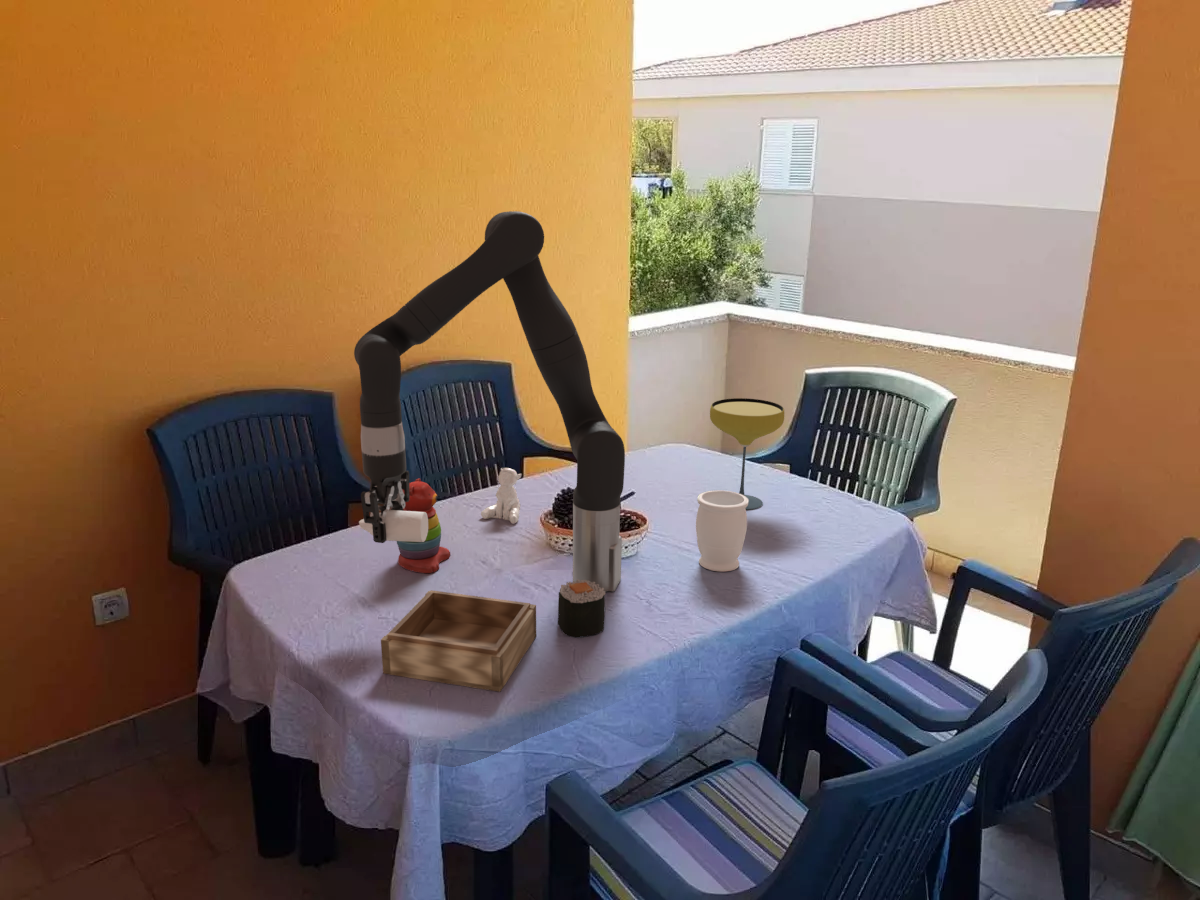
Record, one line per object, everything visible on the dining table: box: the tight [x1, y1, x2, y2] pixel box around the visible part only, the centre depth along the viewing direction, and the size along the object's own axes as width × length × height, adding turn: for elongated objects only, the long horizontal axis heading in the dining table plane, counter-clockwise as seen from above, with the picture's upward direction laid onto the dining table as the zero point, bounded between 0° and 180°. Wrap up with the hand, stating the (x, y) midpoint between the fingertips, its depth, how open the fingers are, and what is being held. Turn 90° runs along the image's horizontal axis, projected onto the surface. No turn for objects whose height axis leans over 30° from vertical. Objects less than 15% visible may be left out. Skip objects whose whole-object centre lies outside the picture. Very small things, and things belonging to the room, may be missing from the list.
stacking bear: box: [396, 478, 451, 574], centre depth 185 cm, size 11×10×18 cm
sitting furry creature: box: [480, 467, 522, 525], centre depth 211 cm, size 10×9×12 cm
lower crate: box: [380, 590, 537, 693], centre depth 150 cm, size 20×18×6 cm
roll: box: [358, 509, 428, 542], centre depth 161 cm, size 6×12×6 cm, turn 86°
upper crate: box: [386, 590, 531, 654], centre depth 150 cm, size 19×17×6 cm
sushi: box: [557, 579, 606, 638], centre depth 160 cm, size 8×8×8 cm
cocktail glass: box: [709, 397, 785, 511], centre depth 220 cm, size 18×18×25 cm
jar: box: [695, 489, 749, 573], centre depth 186 cm, size 11×10×15 cm
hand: (389, 534), depth 162 cm, fingers closed on roll, 6 cm apart
